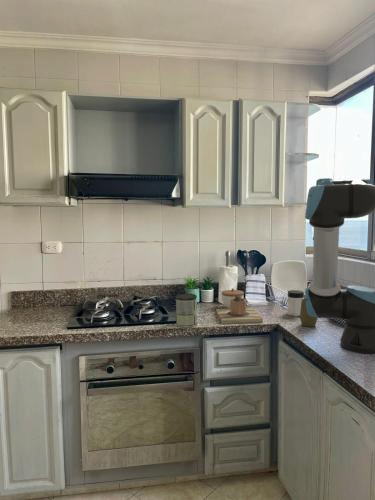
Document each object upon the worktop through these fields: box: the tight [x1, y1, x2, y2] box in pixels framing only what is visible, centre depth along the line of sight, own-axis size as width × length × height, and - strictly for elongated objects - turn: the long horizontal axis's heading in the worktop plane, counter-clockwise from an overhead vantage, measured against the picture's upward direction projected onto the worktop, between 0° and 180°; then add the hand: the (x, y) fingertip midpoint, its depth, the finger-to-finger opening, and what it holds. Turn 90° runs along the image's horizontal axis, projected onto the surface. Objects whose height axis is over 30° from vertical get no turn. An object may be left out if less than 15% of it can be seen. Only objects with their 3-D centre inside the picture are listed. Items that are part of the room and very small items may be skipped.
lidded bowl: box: [221, 288, 245, 309], centre depth 205 cm, size 13×13×11 cm
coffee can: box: [174, 293, 198, 328], centre depth 174 cm, size 10×10×14 cm
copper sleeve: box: [230, 298, 247, 315], centre depth 184 cm, size 8×8×7 cm
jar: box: [287, 289, 305, 317], centre depth 189 cm, size 9×8×12 cm
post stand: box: [215, 296, 264, 325], centre depth 184 cm, size 20×20×11 cm
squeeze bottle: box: [299, 294, 319, 328], centre depth 169 cm, size 8×8×18 cm
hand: (323, 256), depth 172 cm, fingers open, 13 cm apart
